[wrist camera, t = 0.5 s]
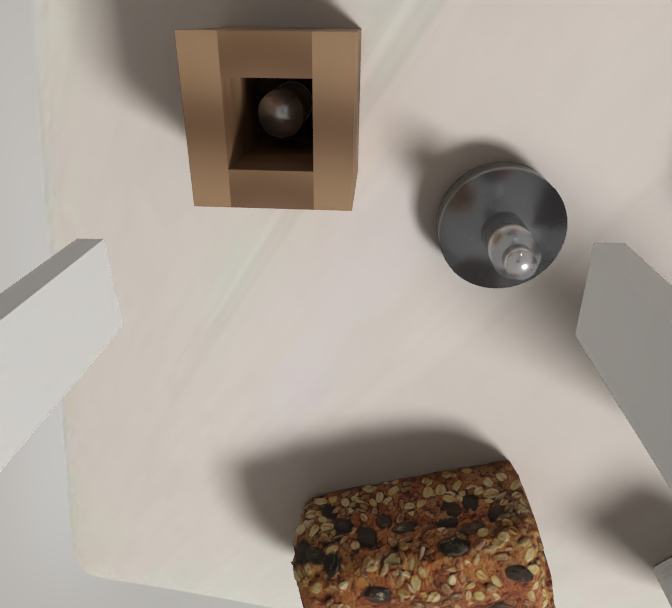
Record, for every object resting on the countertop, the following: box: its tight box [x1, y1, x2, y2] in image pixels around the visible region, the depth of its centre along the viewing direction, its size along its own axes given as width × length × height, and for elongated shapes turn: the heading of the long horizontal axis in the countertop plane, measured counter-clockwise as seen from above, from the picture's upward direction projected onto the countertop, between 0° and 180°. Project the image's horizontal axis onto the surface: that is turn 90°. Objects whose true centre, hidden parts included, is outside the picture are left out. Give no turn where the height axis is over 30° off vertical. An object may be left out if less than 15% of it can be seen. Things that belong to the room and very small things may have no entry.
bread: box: [291, 461, 555, 608], centre depth 44 cm, size 19×11×10 cm, turn 107°
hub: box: [437, 162, 567, 288], centre depth 32 cm, size 8×8×7 cm
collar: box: [174, 27, 361, 211], centre depth 29 cm, size 8×8×8 cm
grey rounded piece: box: [258, 81, 313, 138], centre depth 31 cm, size 2×2×4 cm
